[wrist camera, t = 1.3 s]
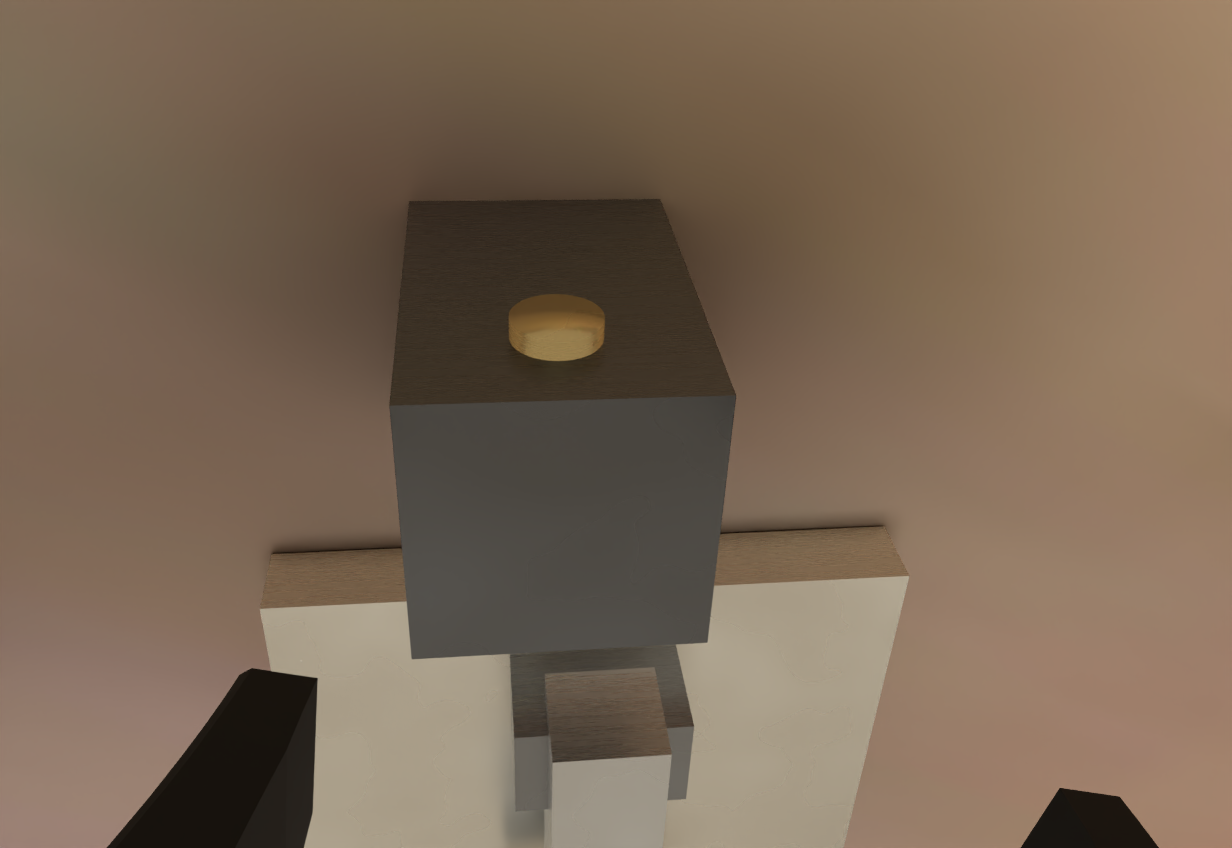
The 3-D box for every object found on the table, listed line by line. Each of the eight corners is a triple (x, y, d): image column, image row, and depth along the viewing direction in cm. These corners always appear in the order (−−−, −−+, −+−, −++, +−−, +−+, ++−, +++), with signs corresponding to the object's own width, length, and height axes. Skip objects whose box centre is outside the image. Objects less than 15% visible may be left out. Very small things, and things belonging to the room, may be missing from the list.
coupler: (424, 427, 20) (413, 675, 15) (407, 183, 17) (387, 382, 12) (645, 421, 20) (705, 658, 15) (660, 181, 18) (738, 373, 13)
